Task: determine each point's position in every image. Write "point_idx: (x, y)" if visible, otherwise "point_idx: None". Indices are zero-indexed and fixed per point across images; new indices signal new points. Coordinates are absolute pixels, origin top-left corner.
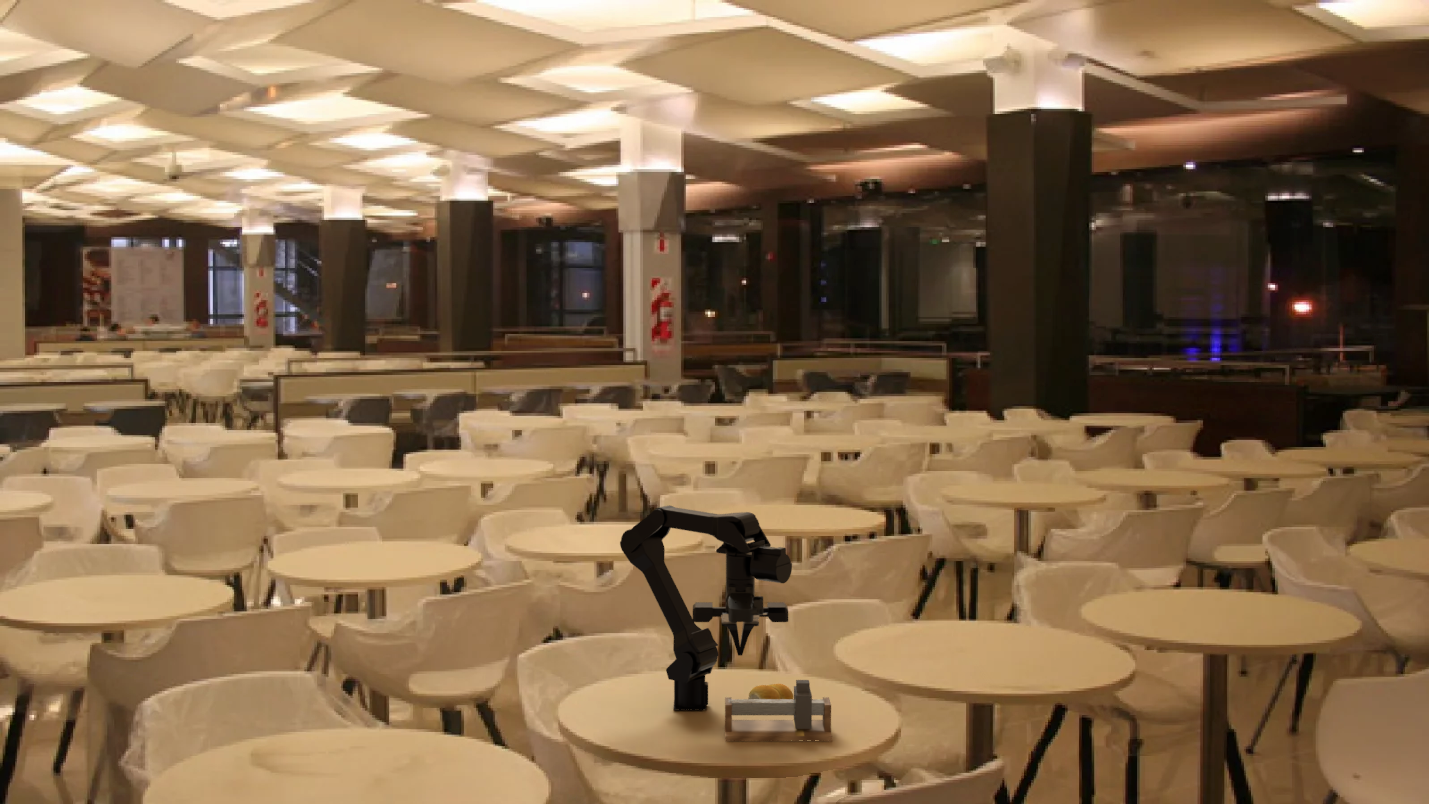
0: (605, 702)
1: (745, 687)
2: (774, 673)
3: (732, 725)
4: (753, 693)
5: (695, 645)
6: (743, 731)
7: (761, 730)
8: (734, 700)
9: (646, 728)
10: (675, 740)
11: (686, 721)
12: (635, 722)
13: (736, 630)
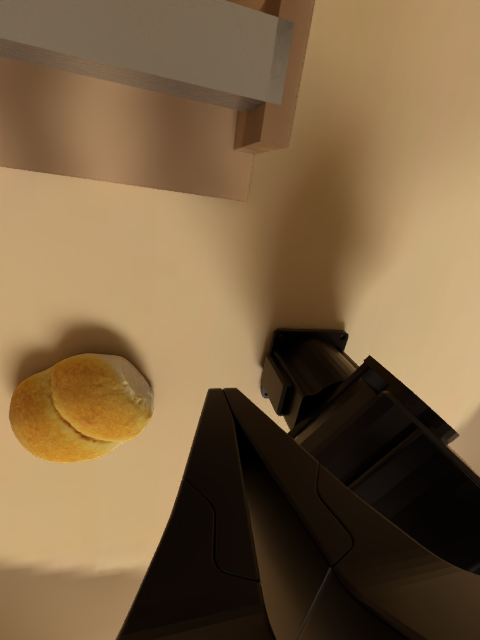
0: (445, 384)
1: (155, 486)
2: (85, 564)
3: (232, 124)
4: (139, 398)
5: (453, 464)
6: None
7: None
8: (255, 70)
9: (447, 197)
10: (423, 48)
11: (338, 248)
12: (450, 251)
13: (364, 586)
